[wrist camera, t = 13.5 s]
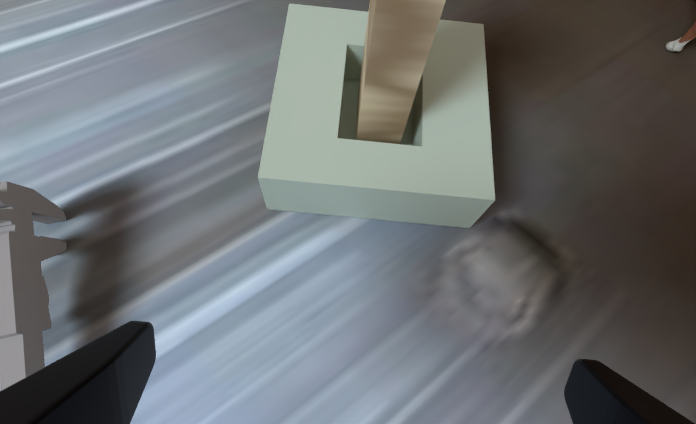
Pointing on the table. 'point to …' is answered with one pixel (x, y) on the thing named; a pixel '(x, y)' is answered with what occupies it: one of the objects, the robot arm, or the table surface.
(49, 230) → the table surface
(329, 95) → the end cap
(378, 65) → the slat
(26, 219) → the caliper
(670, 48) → the bull figurine
